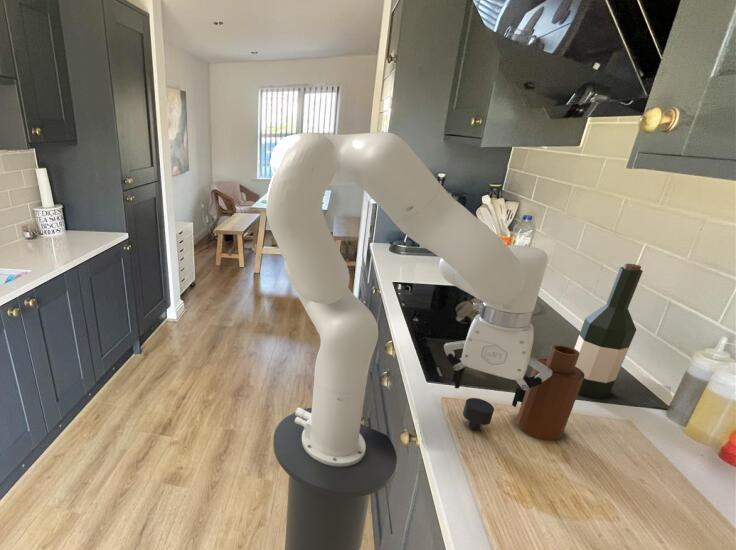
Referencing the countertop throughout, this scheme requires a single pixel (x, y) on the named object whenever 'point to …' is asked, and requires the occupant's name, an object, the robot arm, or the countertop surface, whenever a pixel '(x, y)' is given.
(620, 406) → the countertop surface
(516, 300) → the robot arm
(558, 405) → the brown bottle
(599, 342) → the wine bottle
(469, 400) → the bung
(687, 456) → the countertop surface
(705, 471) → the countertop surface
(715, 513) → the countertop surface
